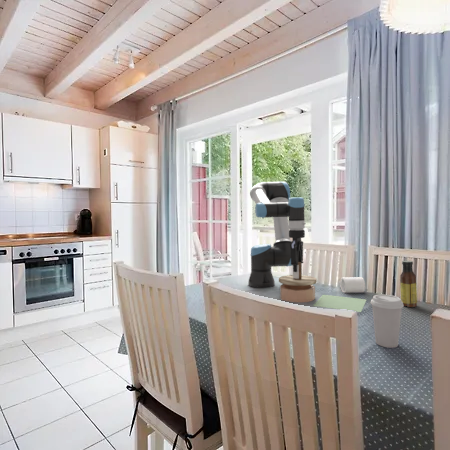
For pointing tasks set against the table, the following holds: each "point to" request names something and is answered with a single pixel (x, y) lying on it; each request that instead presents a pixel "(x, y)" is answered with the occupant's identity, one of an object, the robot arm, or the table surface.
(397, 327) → the coffee cup
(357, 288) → the mug
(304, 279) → the lid
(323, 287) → the table surface
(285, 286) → the bowl
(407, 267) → the sauce bottle
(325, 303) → the mat
